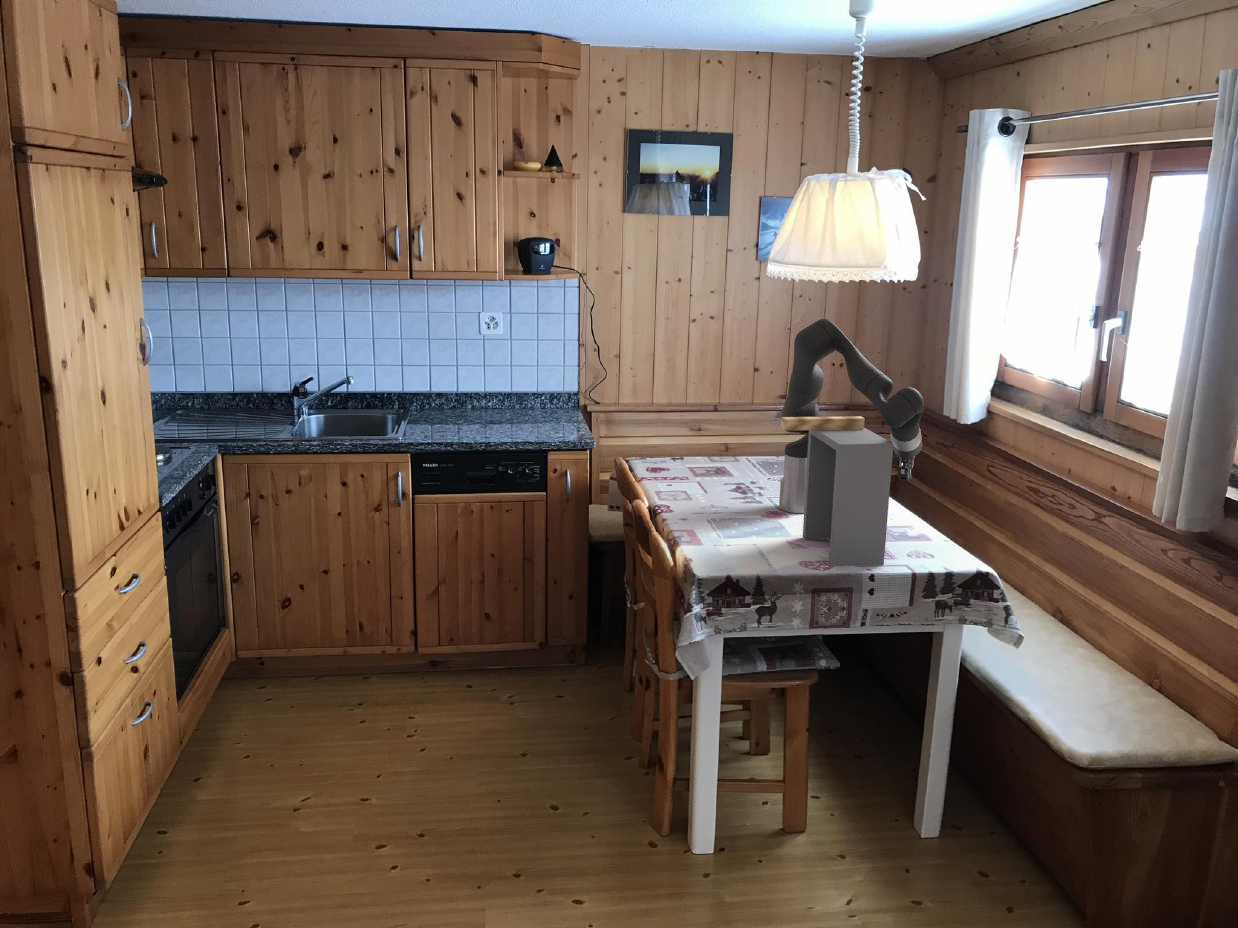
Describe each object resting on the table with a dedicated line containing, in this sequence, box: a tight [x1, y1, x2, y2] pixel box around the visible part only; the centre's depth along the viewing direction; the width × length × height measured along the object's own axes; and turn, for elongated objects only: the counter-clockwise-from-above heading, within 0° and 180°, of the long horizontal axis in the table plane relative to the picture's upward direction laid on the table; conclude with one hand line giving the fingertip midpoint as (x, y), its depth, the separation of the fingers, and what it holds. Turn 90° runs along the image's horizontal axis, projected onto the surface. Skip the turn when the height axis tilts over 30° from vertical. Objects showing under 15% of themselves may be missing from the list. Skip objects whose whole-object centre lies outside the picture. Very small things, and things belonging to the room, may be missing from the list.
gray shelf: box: [802, 427, 894, 567], centre depth 267 cm, size 14×24×32 cm, turn 8°
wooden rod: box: [780, 415, 865, 432], centre depth 269 cm, size 22×3×3 cm, turn 98°
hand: (910, 464), depth 272 cm, fingers open, 8 cm apart
